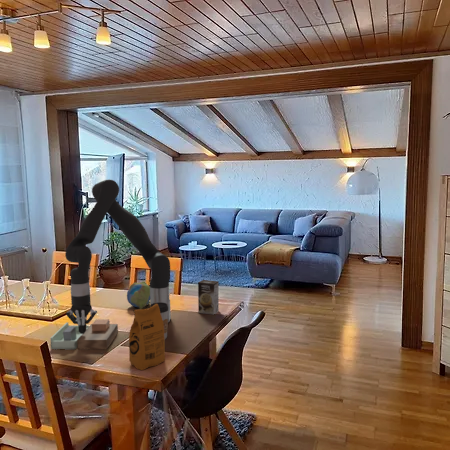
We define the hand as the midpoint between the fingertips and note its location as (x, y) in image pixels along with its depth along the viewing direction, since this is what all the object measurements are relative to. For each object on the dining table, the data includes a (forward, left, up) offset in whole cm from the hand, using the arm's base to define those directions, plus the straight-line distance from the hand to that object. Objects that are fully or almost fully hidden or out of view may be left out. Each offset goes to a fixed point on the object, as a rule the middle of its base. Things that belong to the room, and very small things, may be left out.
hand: (82, 333), depth 180 cm
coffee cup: (-31, -6, -5) cm, 32 cm away
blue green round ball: (-15, -50, -5) cm, 53 cm away
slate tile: (+4, 0, -1) cm, 4 cm away
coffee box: (-51, -40, -5) cm, 65 cm away
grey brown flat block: (-5, -4, -5) cm, 8 cm away
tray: (+7, -4, -5) cm, 9 cm away
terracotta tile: (-5, -8, -1) cm, 10 cm away
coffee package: (-30, +18, -5) cm, 36 cm away
